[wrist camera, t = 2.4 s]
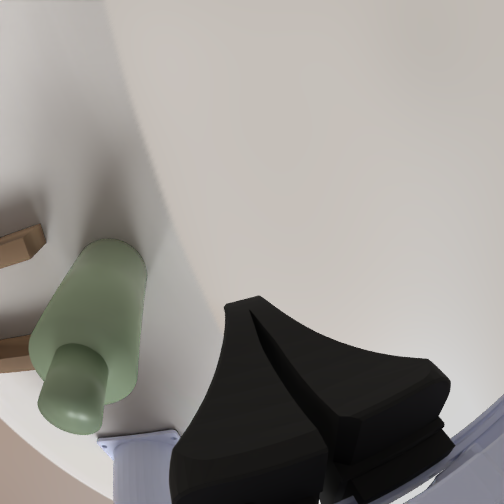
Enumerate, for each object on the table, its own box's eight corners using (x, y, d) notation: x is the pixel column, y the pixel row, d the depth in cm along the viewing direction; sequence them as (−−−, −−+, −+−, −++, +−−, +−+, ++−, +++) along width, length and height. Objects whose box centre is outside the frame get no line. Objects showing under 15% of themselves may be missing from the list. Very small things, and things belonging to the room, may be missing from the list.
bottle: (155, 298, 18) (156, 445, 8) (91, 312, 17) (54, 452, 8) (134, 230, 16) (97, 354, 7) (66, 248, 15) (-16, 369, 6)
